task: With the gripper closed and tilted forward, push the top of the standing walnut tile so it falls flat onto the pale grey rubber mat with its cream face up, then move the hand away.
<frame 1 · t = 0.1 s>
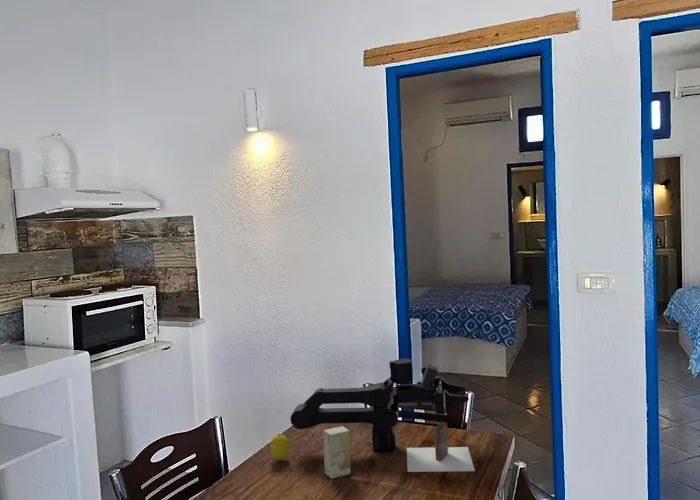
hand: (466, 393, 168), 17 cm above the table, tool horizontal, fingers open, 9 cm apart
tile: (442, 456, 163), point 1 cm above the table, touching mat
lemon: (280, 461, 167), on the table
skincare box: (338, 474, 157), on the table
mat: (439, 460, 162), on the table
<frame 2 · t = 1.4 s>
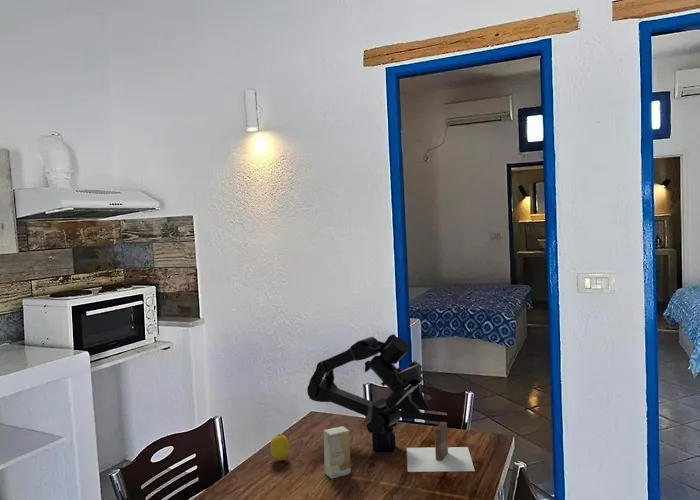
hand: (425, 413, 165), 13 cm above the table, tool tilted 45°, fingers open, 6 cm apart
nothing on the table moved.
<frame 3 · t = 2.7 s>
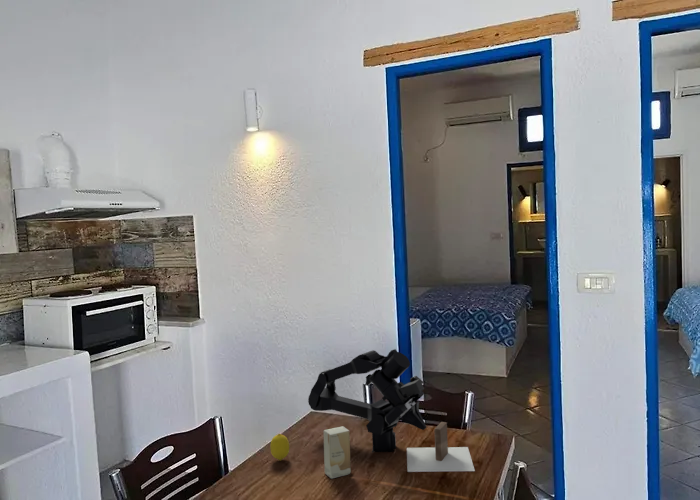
hand: (425, 428, 165), 8 cm above the table, tool tilted 45°, fingers closed
nothing on the table moved.
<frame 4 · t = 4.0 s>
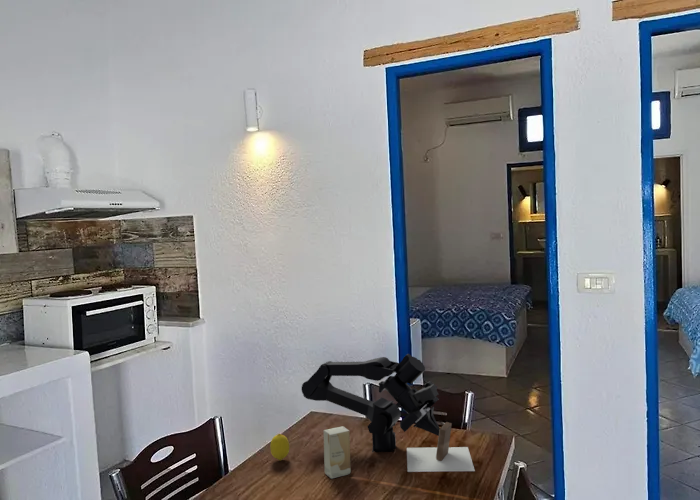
hand: (440, 434, 163), 7 cm above the table, tool tilted 45°, fingers closed, pressing on tile
tile: (442, 456, 163), point 1 cm above the table, tilted 10°, touching gripper, mat
everything else where it was.
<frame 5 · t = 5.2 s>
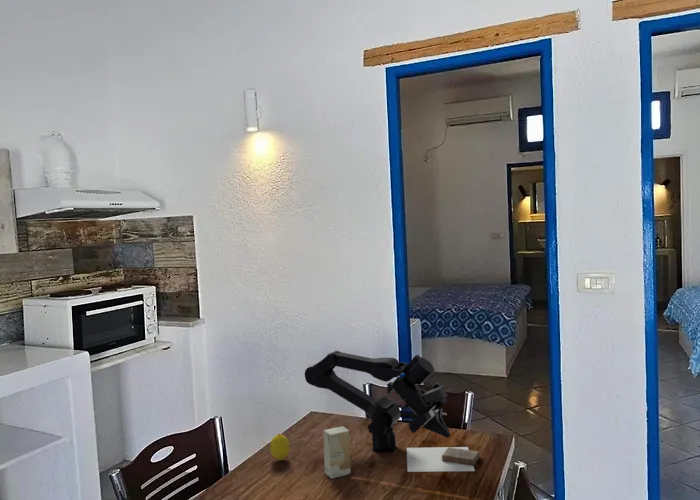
hand: (449, 436, 162), 7 cm above the table, tool tilted 45°, fingers closed
tile: (445, 454, 163), point 1 cm above the table, tilted 90°, touching mat
everything else where it was.
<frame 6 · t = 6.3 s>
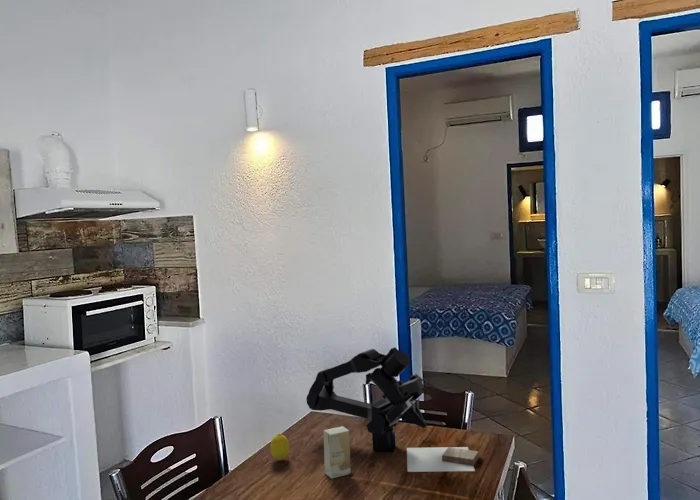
hand: (425, 426, 165), 9 cm above the table, tool tilted 45°, fingers closed
nothing on the table moved.
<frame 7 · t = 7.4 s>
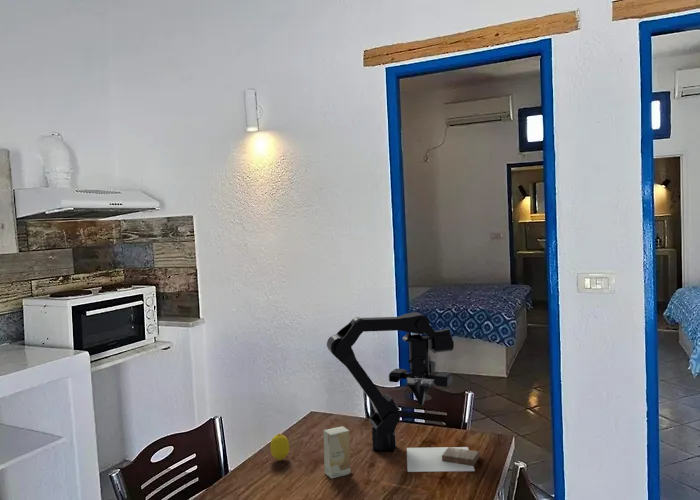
hand: (421, 405, 174), 12 cm above the table, tool pointing down, fingers closed
nothing on the table moved.
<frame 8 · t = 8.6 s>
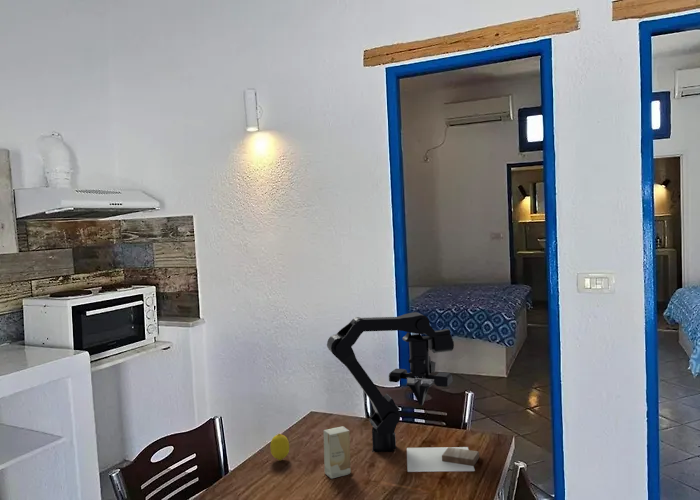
hand: (421, 405, 174), 12 cm above the table, tool pointing down, fingers closed
nothing on the table moved.
at the end: tile tilted 90°; tile inside the target area on the mat (0.7 cm from its centre), point 1.4 cm above the mat's base; tile touching mat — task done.
